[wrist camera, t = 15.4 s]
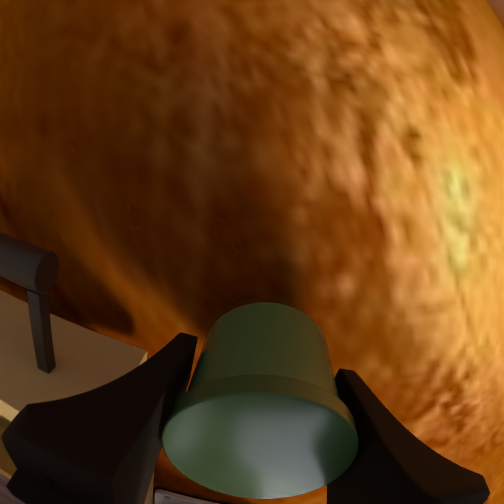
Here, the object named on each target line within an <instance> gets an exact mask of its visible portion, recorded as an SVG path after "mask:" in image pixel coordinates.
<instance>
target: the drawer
mask: <svg viewBox="0 0 504 504" xmlns="http://www.w3.org/2000/svg"><path fill="white" fill-rule="evenodd" d="M58 272H59V260H58V257H57V255H56V254H55V253H54V252H53V251H50V250H47V249H44V248H41V247H39V246H36V245H33V244H30V243H28V242H25V241H22V240H19V239H17V238H14V237H11V236H9V235H6V234H3V233H1V232H0V276H1V277H3V278H6V279H8V280H10V281H12V282H14V283H16V284H18V285H20V286H23V287H25V288H27V289H28V290H27V296H28V303H26V302H24V301H22V300H20V299H18V298H16V297H14V296H12V295H10V294H8V293H6V292H4V291H2V290H0V468H1V469H2V470H4V471H5V472H7V473H8V474H10V475H11V476H13V474H14V473H15V471H16V470H17V468H16V466H15V465H14V463H13V461H12V460H11V458H10V456H9V454H8V453H7V451H6V449H5V447H4V444H3V442H2V433H3V432H4V430H5V429H6V428H7V427H8V425H9V424H10V423H11V421H12V420H13V419H14V418H15V416H16V415H17V414H18V413H19V412H20V411H21V410H22V409H23V408H24V407H25V406H26V405H27V404H31V403H39V402H46V401H53V400H58V399H63V398H67V397H71V396H74V395H77V394H81V393H84V392H87V391H90V390H93V389H95V388H97V387H100V386H102V385H105V384H107V383H109V382H111V381H113V380H115V379H117V378H119V377H121V376H123V375H125V374H126V373H128V372H130V371H131V370H133V369H134V368H136V367H138V366H139V365H141V364H142V363H144V362H145V361H147V350H145V349H142V348H139V347H136V346H133V345H130V344H127V343H124V342H122V341H119V340H116V339H113V338H110V337H108V336H105V335H102V334H100V333H97V332H94V331H92V330H89V329H87V328H84V327H82V326H79V325H77V324H74V323H72V322H69V321H67V320H64V319H62V318H60V317H57V316H55V315H53V314H50V308H49V291H50V290H51V289H52V288H53V286H54V284H55V282H56V280H57V276H58Z"/></svg>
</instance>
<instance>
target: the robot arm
mask: <svg viewBox="0 0 504 504" xmlns="http://www.w3.org/2000/svg"><path fill="white" fill-rule="evenodd" d="M197 339H198V337H196V336H192V335H189V334H185V333H182V332H181V333H179V334H178V335H177V336H176V337H175V338H174V339H173V340H171V341H170V342H169V343H168V344H167V345H166V346H165V347H163V348H162V349H161V350H160V351H158V352H157V353H156V354H155V355H153V356H152V357H151V358H149V359H148V360H147V361H145V362H144V363H142V364H141V365H139V366H138V367H136V368H134V369H133V370H131V371H130V372H128V373H126V374H125V375H123V376H121V377H119V378H117V379H115V380H113V381H111V382H109V383H107V384H105V385H102V386H100V387H97V388H95V389H93V390H90V391H87V392H84V393H81V394H77V395H74V396H71V397H67V398H63V399H58V400H53V401H46V402H39V403H31V404H27V405H26V406H25V407H24V408H23V409H22V410H21V411H20V412H19V413H18V414H17V415H16V416H15V418H14V419H13V420H12V421H11V423H10V424H9V425H8V427H7V428H6V429H5V430H4V432H3V433H2V442H3V444H4V447H5V449H6V451H7V453H8V454H9V456H10V458H11V460H12V461H13V463H14V465H15V466H16V468H17V470H16V471H15V473H14V474H13V476H12V477H11V479H8V478H7V477H5V476H4V475H2V474H1V473H0V504H144V503H145V500H146V496H147V493H148V489H149V486H150V482H151V479H152V476H153V473H154V469H155V466H156V463H157V460H158V457H159V454H160V451H161V449H162V446H163V445H162V430H163V426H164V424H165V421H166V418H167V416H168V413H169V411H170V409H171V407H172V406H173V404H174V403H175V402H176V401H177V400H178V399H179V398H180V397H181V396H182V395H183V394H185V392H186V389H187V386H188V383H189V379H190V375H191V370H192V364H193V359H194V354H195V349H196V344H197ZM335 383H336V388H337V392H338V397H339V399H340V400H341V401H342V402H343V403H344V404H345V405H346V407H347V408H348V409H349V410H350V412H351V414H352V416H353V418H354V422H355V426H356V431H357V435H358V439H359V447H358V451H357V455H356V457H355V459H354V461H353V463H352V464H351V466H350V467H349V468H348V469H347V470H346V471H345V472H344V473H343V474H342V475H341V476H339V477H338V478H337V479H336V480H334V481H332V482H331V483H329V484H327V504H483V503H484V502H485V501H486V500H487V498H488V496H489V494H490V491H489V489H488V486H487V484H486V482H485V479H484V477H483V476H482V475H480V474H478V473H475V472H473V471H470V470H468V469H466V468H463V467H461V466H459V465H457V464H455V463H453V462H452V461H450V460H448V459H446V458H445V457H443V456H441V455H440V454H438V453H437V452H435V451H434V450H432V449H431V448H429V447H428V446H427V445H425V444H424V443H423V442H421V441H420V440H419V439H418V438H416V437H415V436H414V435H413V434H412V433H411V432H409V431H408V430H407V429H406V428H405V427H404V426H403V425H402V424H401V423H400V422H399V421H398V420H397V419H396V418H395V417H394V416H393V415H392V414H391V413H390V412H389V411H388V410H387V408H386V407H385V406H384V405H383V404H382V403H381V402H380V400H379V399H378V398H377V397H376V396H375V395H374V393H373V392H372V391H371V390H370V389H369V387H368V386H367V385H366V384H365V383H364V381H363V380H362V379H361V378H360V377H359V376H358V375H357V373H356V372H355V371H352V370H346V369H340V368H339V370H338V372H337V374H336V376H335ZM154 504H220V503H215V502H210V501H205V500H201V499H196V498H192V497H188V496H184V495H180V494H176V493H173V492H169V491H166V490H162V489H156V490H155V495H154Z"/></svg>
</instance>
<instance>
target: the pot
mask: <svg viewBox="0 0 504 504" xmlns="http://www.w3.org/2000/svg"><path fill="white" fill-rule="evenodd" d="M162 445H163V449H164V452H165V454H166V456H167V457H168V459H169V460H170V462H171V463H172V464H173V465H174V466H175V467H176V468H177V469H178V470H179V471H180V472H181V473H182V474H184V475H185V476H186V477H188V478H189V479H191V480H193V481H194V482H196V483H198V484H200V485H202V486H204V487H206V488H209V489H212V490H214V491H217V492H220V493H224V494H228V495H232V496H237V497H244V498H255V499H274V498H284V497H291V496H296V495H301V494H304V493H308V492H311V491H313V490H316V489H319V488H321V487H323V486H325V485H327V484H329V483H331V482H332V481H334V480H336V479H337V478H338V477H339V476H341V475H342V474H343V473H344V472H345V471H346V470H347V469H348V468H349V467H350V466H351V464H352V463H353V461H354V459H355V457H356V455H357V451H358V447H359V439H358V435H357V431H356V426H355V422H354V418H353V416H352V414H351V412H350V410H349V409H348V408H347V407H346V405H345V404H344V403H343V402H342V401H341V400H340V399H339V397H338V392H337V388H336V383H335V378H334V374H333V369H332V365H331V360H330V356H329V352H328V347H327V343H326V340H325V337H324V334H323V332H322V331H321V329H320V328H319V326H318V325H317V324H316V323H315V322H314V321H313V320H312V319H311V318H310V317H309V316H307V315H306V314H304V313H303V312H301V311H299V310H297V309H295V308H293V307H290V306H287V305H283V304H278V303H270V302H260V303H252V304H247V305H243V306H240V307H237V308H235V309H233V310H231V311H229V312H227V313H225V314H224V315H223V316H221V317H220V318H219V319H218V320H217V321H216V322H215V323H214V324H213V326H212V327H211V328H210V330H209V332H208V334H207V336H206V339H205V342H204V345H203V348H202V350H201V353H200V356H199V359H198V362H197V365H196V368H195V371H194V374H193V377H192V379H191V382H190V385H189V388H188V391H187V392H186V393H185V394H183V395H182V396H181V397H180V398H179V399H178V400H177V401H176V402H175V403H174V404H173V406H172V407H171V409H170V411H169V413H168V416H167V418H166V421H165V424H164V426H163V430H162Z"/></svg>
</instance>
